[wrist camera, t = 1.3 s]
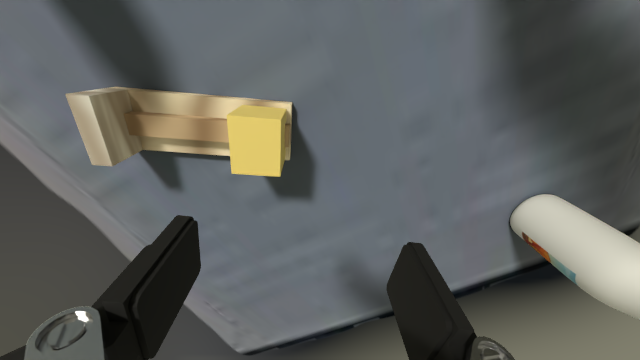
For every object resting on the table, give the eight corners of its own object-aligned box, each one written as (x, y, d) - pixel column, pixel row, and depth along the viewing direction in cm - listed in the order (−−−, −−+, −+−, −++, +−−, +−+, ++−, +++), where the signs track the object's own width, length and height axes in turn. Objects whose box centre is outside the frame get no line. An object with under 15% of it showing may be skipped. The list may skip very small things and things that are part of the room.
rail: (292, 102, 28) (287, 113, 23) (290, 156, 31) (285, 177, 26) (116, 86, 27) (65, 94, 21) (132, 145, 30) (92, 164, 25)
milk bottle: (503, 206, 36) (690, 350, 18) (558, 183, 34) (820, 317, 17) (511, 239, 39) (676, 390, 21) (561, 220, 38) (785, 366, 20)
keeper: (286, 108, 27) (281, 119, 22) (285, 157, 30) (280, 176, 25) (242, 104, 27) (226, 115, 22) (245, 154, 29) (231, 173, 25)
